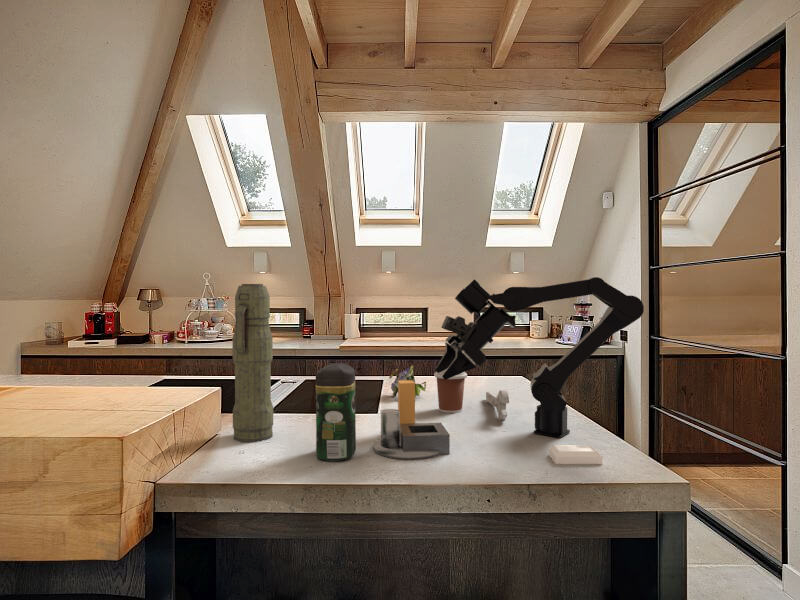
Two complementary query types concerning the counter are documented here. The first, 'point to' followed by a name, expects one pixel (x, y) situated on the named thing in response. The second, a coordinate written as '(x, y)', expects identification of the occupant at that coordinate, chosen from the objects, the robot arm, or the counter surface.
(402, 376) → the passion flower
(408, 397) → the wooden block
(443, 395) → the coffee cup
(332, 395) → the coffee jar
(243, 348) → the thermos
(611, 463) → the counter surface
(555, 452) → the soap bar
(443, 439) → the desk organizer stand
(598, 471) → the counter surface
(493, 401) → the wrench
